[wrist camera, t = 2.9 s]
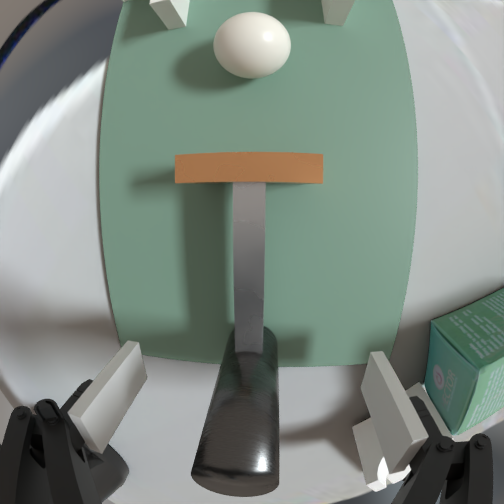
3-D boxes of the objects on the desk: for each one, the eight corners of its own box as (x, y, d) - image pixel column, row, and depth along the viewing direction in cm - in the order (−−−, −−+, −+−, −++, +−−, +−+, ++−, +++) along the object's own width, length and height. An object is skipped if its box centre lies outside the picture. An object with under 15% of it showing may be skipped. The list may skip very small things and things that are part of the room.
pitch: (126, 345, 19) (100, 376, 15) (129, 1, 12) (105, -24, 8) (385, 355, 18) (406, 390, 14) (386, -4, 11) (405, -32, 7)
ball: (219, 90, 14) (203, 62, 10) (221, 36, 13) (208, 1, 9) (289, 89, 13) (295, 59, 9) (287, 35, 12) (291, -2, 8)
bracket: (349, 419, 20) (366, 484, 13) (418, 379, 19) (452, 438, 11) (386, 463, 22) (400, 508, 15) (437, 434, 21) (458, 476, 13)
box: (425, 319, 17) (478, 376, 10) (524, 272, 15) (574, 299, 8) (418, 386, 19) (452, 443, 11) (513, 335, 17) (552, 368, 10)
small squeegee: (208, 361, 17) (165, 484, 8) (199, 162, 14) (86, 132, 5) (297, 364, 17) (310, 496, 7) (309, 162, 14) (381, 120, 4)
